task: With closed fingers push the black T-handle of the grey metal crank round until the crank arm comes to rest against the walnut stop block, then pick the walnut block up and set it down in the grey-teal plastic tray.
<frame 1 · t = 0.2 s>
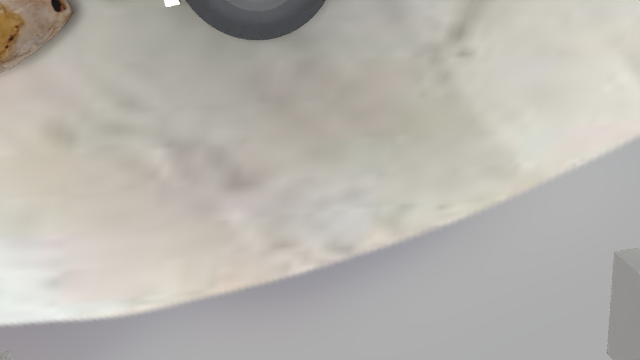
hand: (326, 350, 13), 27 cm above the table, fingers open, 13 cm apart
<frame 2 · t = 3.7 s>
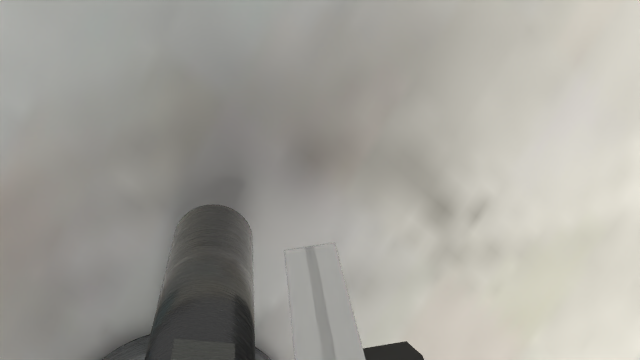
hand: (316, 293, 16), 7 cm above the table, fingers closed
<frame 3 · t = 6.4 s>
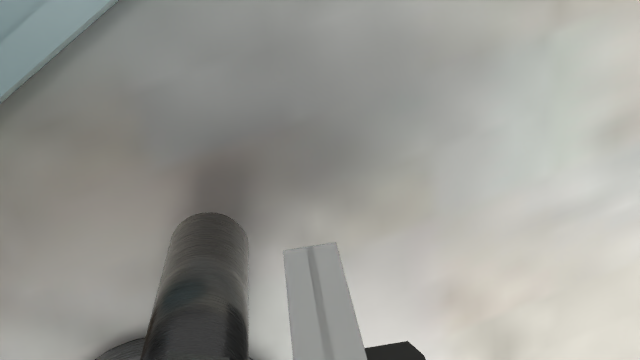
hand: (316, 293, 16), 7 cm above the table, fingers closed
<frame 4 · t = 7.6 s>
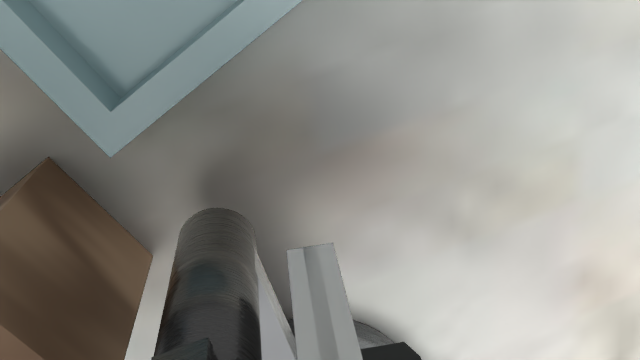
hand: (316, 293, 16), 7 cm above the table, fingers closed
stop block: (31, 266, 22), on the table
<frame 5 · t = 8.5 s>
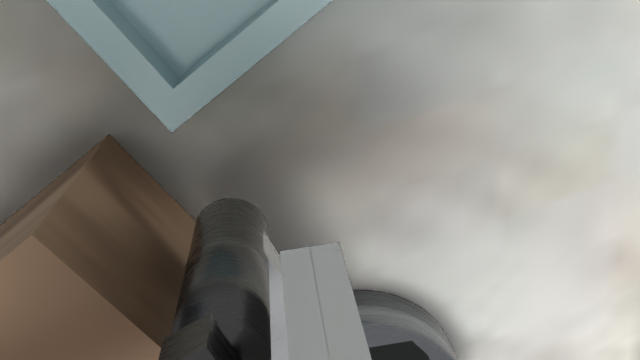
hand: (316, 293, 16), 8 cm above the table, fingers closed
stop block: (90, 239, 23), on the table
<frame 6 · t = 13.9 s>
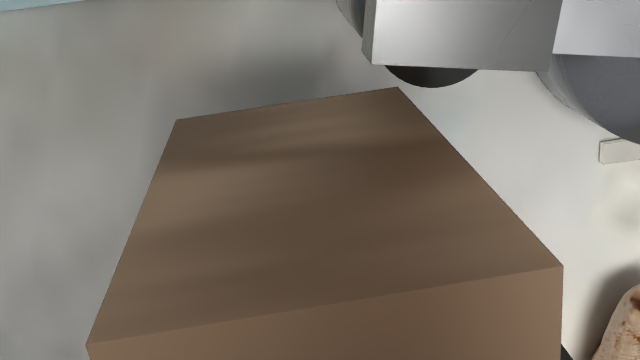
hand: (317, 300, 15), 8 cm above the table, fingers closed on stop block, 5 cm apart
stop block: (308, 240, 15), point 8 cm above the table, touching gripper
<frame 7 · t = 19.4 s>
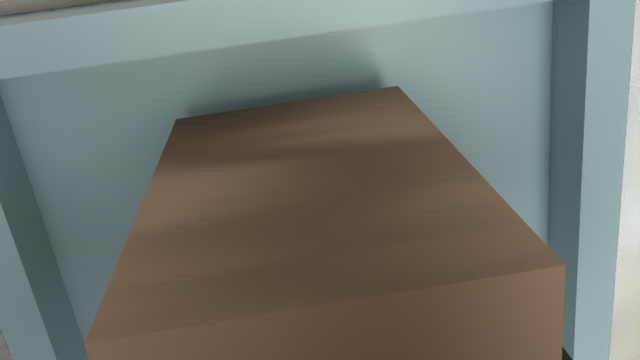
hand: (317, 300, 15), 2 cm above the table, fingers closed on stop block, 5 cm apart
tray: (311, 255, 17), on the table
stop block: (308, 239, 15), point 2 cm above the table, touching gripper
when the fingers open (2 cm above the table, at t = 19.5 s): stop block drops 1 cm, resting on tray.
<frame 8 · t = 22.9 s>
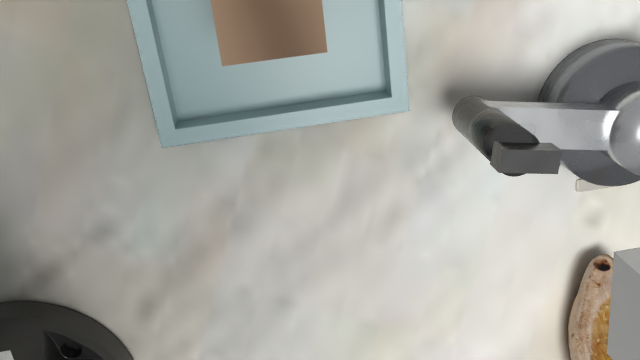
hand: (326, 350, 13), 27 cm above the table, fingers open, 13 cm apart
sweet potato: (591, 321, 48), on the table
crank base: (601, 107, 41), on the table
crank: (593, 138, 34), point 7 cm above the table, hinge at 79.6°
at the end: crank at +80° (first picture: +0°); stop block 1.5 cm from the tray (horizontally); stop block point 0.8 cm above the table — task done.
